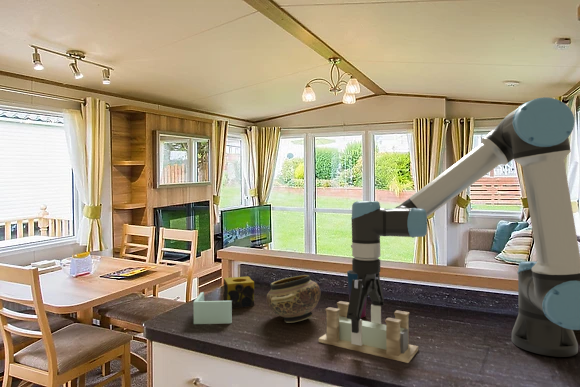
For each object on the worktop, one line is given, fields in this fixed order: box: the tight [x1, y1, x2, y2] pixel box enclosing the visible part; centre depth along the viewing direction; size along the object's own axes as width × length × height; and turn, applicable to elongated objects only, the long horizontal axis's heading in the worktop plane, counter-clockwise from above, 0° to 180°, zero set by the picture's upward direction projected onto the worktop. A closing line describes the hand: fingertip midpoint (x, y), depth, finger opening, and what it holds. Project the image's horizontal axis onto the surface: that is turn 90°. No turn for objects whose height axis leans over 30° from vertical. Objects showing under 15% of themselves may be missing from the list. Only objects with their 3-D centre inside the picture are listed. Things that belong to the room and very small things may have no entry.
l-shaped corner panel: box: [192, 291, 233, 325], centre depth 128 cm, size 12×12×8 cm
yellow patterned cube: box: [222, 275, 255, 309], centre depth 142 cm, size 10×10×10 cm
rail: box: [325, 316, 408, 354], centre depth 104 cm, size 22×4×5 cm, turn 56°
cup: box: [346, 269, 368, 319], centre depth 129 cm, size 7×7×15 cm
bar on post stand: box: [318, 300, 419, 364], centre depth 104 cm, size 25×9×10 cm, turn 56°
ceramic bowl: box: [265, 274, 322, 324], centre depth 125 cm, size 24×18×15 cm
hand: (366, 335), depth 104 cm, fingers open, 13 cm apart
